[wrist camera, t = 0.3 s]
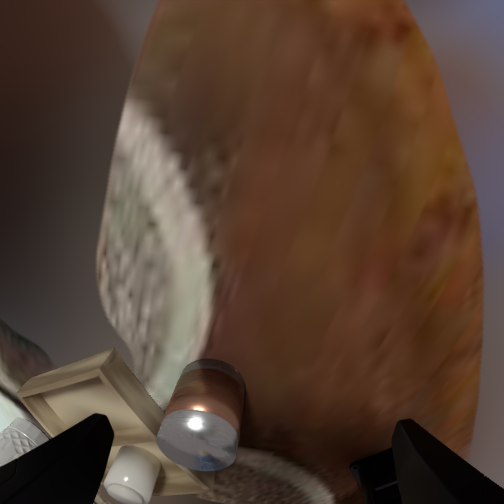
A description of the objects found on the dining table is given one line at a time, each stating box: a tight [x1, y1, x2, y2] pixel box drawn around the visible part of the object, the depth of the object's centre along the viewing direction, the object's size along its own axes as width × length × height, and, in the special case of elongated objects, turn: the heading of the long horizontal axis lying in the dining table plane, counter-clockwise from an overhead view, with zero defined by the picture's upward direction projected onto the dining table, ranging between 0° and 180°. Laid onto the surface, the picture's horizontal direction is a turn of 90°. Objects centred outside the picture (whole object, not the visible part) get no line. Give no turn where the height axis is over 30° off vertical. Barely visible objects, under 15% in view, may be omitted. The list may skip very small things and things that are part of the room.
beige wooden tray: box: [16, 348, 216, 496], centre depth 25 cm, size 17×14×3 cm
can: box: [156, 359, 245, 471], centre depth 21 cm, size 5×5×7 cm
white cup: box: [0, 418, 49, 467], centre depth 25 cm, size 8×8×10 cm
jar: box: [103, 445, 161, 504], centre depth 25 cm, size 5×5×6 cm
